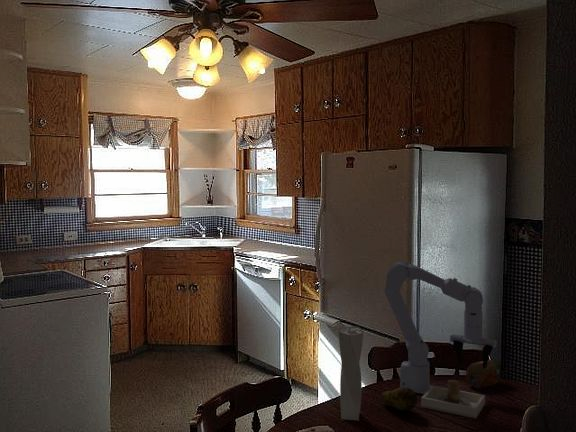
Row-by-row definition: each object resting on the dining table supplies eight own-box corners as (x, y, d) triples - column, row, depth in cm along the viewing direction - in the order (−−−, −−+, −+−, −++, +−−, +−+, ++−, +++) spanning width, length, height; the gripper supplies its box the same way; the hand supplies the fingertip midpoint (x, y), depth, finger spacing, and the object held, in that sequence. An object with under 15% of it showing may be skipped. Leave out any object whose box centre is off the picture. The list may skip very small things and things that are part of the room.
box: (421, 407, 167) (421, 397, 167) (433, 394, 178) (433, 385, 178) (475, 418, 158) (476, 408, 158) (484, 404, 169) (485, 395, 169)
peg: (445, 404, 168) (446, 382, 168) (449, 400, 171) (449, 379, 171) (457, 406, 166) (457, 384, 166) (460, 403, 169) (461, 381, 168)
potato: (402, 401, 172) (402, 377, 171) (421, 417, 159) (421, 391, 159) (378, 404, 170) (378, 379, 170) (395, 420, 157) (395, 393, 157)
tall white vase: (362, 423, 156) (363, 327, 155) (337, 421, 157) (337, 326, 156) (363, 412, 163) (364, 321, 162) (339, 410, 165) (339, 320, 164)
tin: (471, 390, 182) (471, 365, 182) (464, 387, 185) (464, 363, 184) (502, 383, 189) (502, 359, 189) (494, 380, 192) (495, 357, 191)
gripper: (447, 324, 177) (447, 365, 177) (493, 330, 169) (493, 372, 170) (453, 320, 183) (452, 359, 183) (498, 326, 175) (497, 366, 176)
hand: (472, 365), depth 177 cm, fingers open, 7 cm apart
